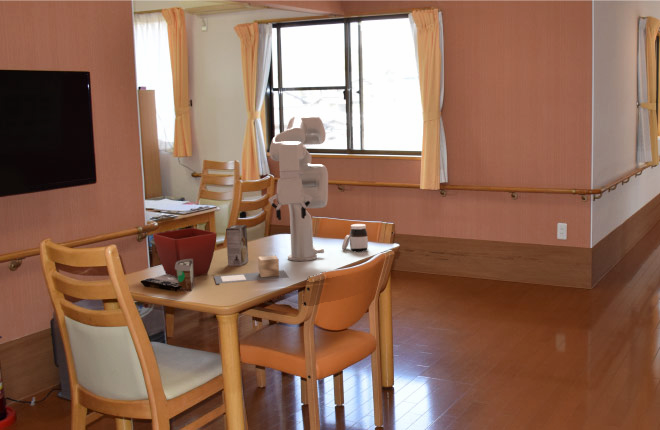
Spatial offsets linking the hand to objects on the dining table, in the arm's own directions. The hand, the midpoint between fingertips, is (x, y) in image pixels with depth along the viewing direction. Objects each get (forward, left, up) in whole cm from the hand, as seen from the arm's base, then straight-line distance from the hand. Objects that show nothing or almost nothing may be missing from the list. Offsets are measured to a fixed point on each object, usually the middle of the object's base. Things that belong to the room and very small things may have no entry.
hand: (291, 218), depth 289 cm
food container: (+43, +8, -23) cm, 49 cm away
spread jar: (-35, -37, -23) cm, 56 cm away
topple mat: (+17, 0, -22) cm, 28 cm away
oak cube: (+10, 0, -22) cm, 24 cm away
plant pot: (+41, -16, -23) cm, 49 cm away
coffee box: (+19, -28, -23) cm, 41 cm away
